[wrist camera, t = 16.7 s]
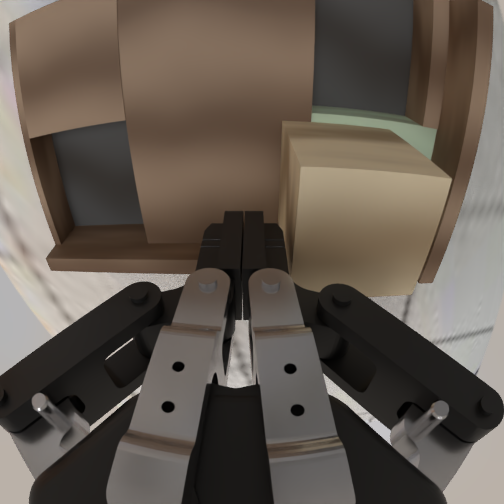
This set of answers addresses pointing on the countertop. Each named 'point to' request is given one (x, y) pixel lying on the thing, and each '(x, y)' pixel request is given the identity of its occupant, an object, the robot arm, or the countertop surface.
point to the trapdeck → (228, 110)
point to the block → (357, 207)
